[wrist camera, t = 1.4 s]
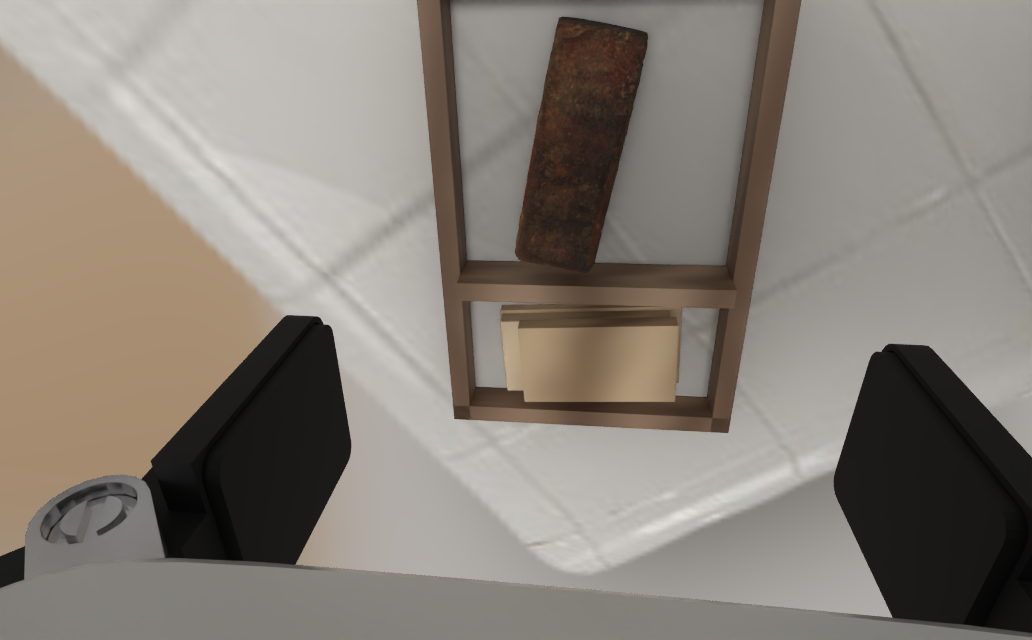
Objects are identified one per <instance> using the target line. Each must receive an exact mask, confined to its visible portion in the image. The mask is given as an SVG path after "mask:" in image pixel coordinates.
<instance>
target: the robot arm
mask: <svg viewBox="0 0 1032 640" xmlns="http://www.w3.org/2000/svg"><path fill="white" fill-rule="evenodd" d="M350 454H351V438H350V432H349V426H348V420H347V414H346V408H345V402H344V396H343V390H342V384H341V378H340V372H339V366H338V360H337V354H336V348H335V342H334V336H333V331H332V329H331V327H330V326H329V325H324V324H323V322H322V320H321V319H320V318H319V317H315V316H294V315H287V316H285V317H284V318H283V319H282V320H281V321H280V322H279V323H278V324H277V325H276V326H275V327H274V328H273V330H272V331H271V332H270V333H269V334H268V335H267V336H266V337H265V338H264V339H263V340H262V341H261V343H260V344H259V345H258V346H257V347H256V348H255V349H254V350H253V351H252V352H251V353H250V354H249V355H248V357H247V358H246V359H245V360H244V361H243V362H242V363H241V364H240V365H239V366H238V367H237V368H236V369H235V371H234V372H233V373H232V374H231V375H230V376H229V377H228V378H227V379H226V380H225V381H224V382H223V383H222V385H221V386H220V387H219V388H218V389H217V390H216V391H215V392H214V393H213V394H212V396H210V397H209V399H208V400H207V401H206V402H205V403H204V404H203V405H202V406H201V407H200V408H199V409H198V410H197V412H196V413H195V414H194V415H193V416H192V417H191V418H190V419H189V420H188V421H187V422H186V423H185V424H184V426H183V427H182V428H181V429H180V430H179V431H178V432H177V433H176V434H175V435H174V436H173V437H172V439H171V440H170V441H169V442H168V443H167V444H166V445H165V446H164V447H163V448H162V449H161V450H160V451H159V453H158V454H157V455H156V456H155V457H154V458H153V459H152V460H151V463H152V466H153V467H152V468H151V469H150V470H149V471H148V473H147V474H146V475H145V476H144V477H143V478H142V479H139V478H137V477H134V476H128V475H111V476H103V477H100V478H96V479H92V480H88V481H85V482H83V483H81V484H78V485H76V486H73V487H71V488H69V489H67V490H65V491H64V492H62V493H61V494H59V495H57V496H56V497H54V498H52V499H51V500H50V501H49V502H48V503H46V504H45V505H44V506H43V507H42V508H41V509H40V510H38V512H37V513H36V514H35V516H34V517H33V518H32V520H31V521H30V522H29V525H28V528H27V531H26V535H25V546H24V547H22V548H20V549H17V550H15V551H12V552H10V553H7V554H5V555H2V556H0V640H1032V457H1031V456H1030V455H1029V454H1028V453H1027V452H1026V451H1025V450H1024V449H1023V447H1022V446H1021V445H1020V444H1019V443H1018V442H1017V441H1016V440H1015V439H1014V438H1013V437H1012V436H1011V434H1010V433H1009V432H1008V431H1007V430H1006V429H1005V428H1004V427H1003V426H1002V424H1001V423H1000V422H999V421H998V420H997V419H996V418H995V417H994V416H993V415H992V414H991V413H990V411H989V410H988V409H987V408H986V407H985V406H984V405H983V404H982V403H981V402H980V401H979V399H978V398H977V397H976V396H975V395H974V394H973V393H972V392H971V391H970V390H969V389H968V387H967V386H966V385H965V384H964V383H963V382H962V381H961V380H960V379H959V378H958V377H957V375H956V374H955V373H954V372H953V371H952V370H951V369H950V368H949V367H948V366H947V365H946V364H945V362H944V361H943V360H942V359H941V358H940V357H939V356H938V355H937V354H936V353H935V352H934V350H933V349H931V348H930V347H929V346H924V345H903V344H888V345H886V346H885V347H884V349H883V350H882V352H875V353H874V354H873V355H872V356H871V358H870V361H869V364H868V367H867V370H866V374H865V377H864V380H863V383H862V387H861V390H860V393H859V396H858V400H857V403H856V406H855V409H854V413H853V416H852V419H851V422H850V426H849V429H848V432H847V435H846V439H845V442H844V445H843V449H842V452H841V455H840V458H839V462H838V465H837V468H836V471H835V475H834V490H835V495H836V497H837V500H838V502H839V504H840V506H841V508H842V510H843V512H844V515H845V517H846V519H847V521H848V523H849V525H850V527H851V529H852V532H853V534H854V536H855V538H856V540H857V542H858V544H859V547H860V549H861V551H862V553H863V555H864V557H865V559H866V561H867V564H868V566H869V568H870V570H871V572H872V574H873V576H874V579H875V581H876V583H877V585H878V587H879V589H880V591H881V593H882V596H883V598H884V600H885V602H886V604H887V606H888V608H889V611H890V613H891V615H892V617H893V618H888V617H879V616H869V615H857V614H847V613H837V612H826V611H815V610H805V609H794V608H784V607H773V606H763V605H752V604H741V603H731V602H720V601H710V600H699V599H688V598H676V597H665V596H655V595H643V594H632V593H621V592H610V591H599V590H588V589H576V588H564V587H554V586H542V585H531V584H519V583H508V582H496V581H484V580H473V579H461V578H449V577H437V576H425V575H413V574H401V573H389V572H376V571H365V570H352V569H341V568H329V567H316V566H303V565H295V564H296V562H297V560H298V558H299V556H300V555H301V553H302V551H303V548H304V547H305V545H306V543H307V541H308V539H309V537H310V535H311V533H312V531H313V529H314V527H315V525H316V523H317V521H318V519H319V518H320V516H321V514H322V512H323V510H324V508H325V506H326V504H327V502H328V500H329V498H330V496H331V494H332V492H333V490H334V488H335V486H336V484H337V483H338V481H339V479H340V477H341V475H342V473H343V471H344V469H345V467H346V465H347V463H348V461H349V458H350Z"/></svg>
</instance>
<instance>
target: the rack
mask: <svg viewBox="0 0 1032 640" xmlns="http://www.w3.org/2000/svg"><path fill="white" fill-rule="evenodd" d="M417 6H418V17H419V28H420V39H421V50H422V61H423V73H424V84H425V95H426V106H427V117H428V129H429V140H430V151H431V162H432V173H433V184H434V196H435V207H436V218H437V229H438V240H439V252H440V263H441V274H442V285H443V296H444V307H445V319H446V330H447V341H448V352H449V363H450V375H451V386H452V397H453V408H454V419H466V420H485V421H505V422H524V423H544V424H563V425H583V426H603V427H622V428H642V429H661V430H681V431H700V432H720V433H728V431H729V425H730V419H731V414H732V408H733V402H734V396H735V390H736V384H737V378H738V372H739V366H740V360H741V354H742V349H743V343H744V337H745V331H746V325H747V319H748V313H749V307H750V301H751V295H752V289H753V284H754V278H755V272H756V266H757V260H758V254H759V248H760V242H761V236H762V230H763V225H764V219H765V213H766V207H767V201H768V195H769V189H770V183H771V177H772V171H773V165H774V160H775V154H776V148H777V142H778V136H779V130H780V124H781V118H782V112H783V106H784V101H785V95H786V89H787V83H788V77H789V71H790V65H791V59H792V53H793V47H794V41H795V36H796V30H797V24H798V18H799V12H800V6H801V0H764V7H763V14H762V21H761V28H760V35H759V42H758V49H757V56H756V63H755V69H754V76H753V83H752V90H751V97H750V104H749V111H748V118H747V125H746V132H745V139H744V146H743V153H742V159H741V166H740V173H739V180H738V187H737V194H736V201H735V208H734V215H733V222H732V229H731V236H730V243H729V249H728V256H727V263H726V266H695V265H650V264H604V263H594V264H593V266H592V268H591V269H590V271H589V272H587V273H583V272H578V271H573V270H568V269H563V268H557V267H551V266H546V265H540V264H535V263H529V262H512V261H467V253H466V238H465V223H464V208H463V194H462V179H461V164H460V149H459V134H458V120H457V105H456V90H455V75H454V60H453V46H452V31H451V16H450V1H449V0H417ZM470 301H489V302H523V303H558V304H592V305H626V306H660V307H694V308H720V312H719V319H718V326H717V333H716V339H715V346H714V353H713V360H712V367H711V374H710V381H709V388H708V395H707V398H706V397H684V396H675V402H525V401H524V390H513V391H508V389H506V388H484V387H476V386H475V371H474V356H473V341H472V327H471V312H470Z"/></svg>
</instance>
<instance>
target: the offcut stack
mask: <svg viewBox="0 0 1032 640" xmlns="http://www.w3.org/2000/svg"><path fill="white" fill-rule="evenodd" d="M681 313H682V307H660V306H626V305H592V304H538V305H502V307H501V321H500V324H501V333H502V343H503V352H504V361H505V371H506V380H507V389H508V391H513V390H524V401H525V402H675V391H676V383H678V379H679V357H680V335H681Z"/></svg>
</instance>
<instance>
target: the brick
mask: <svg viewBox="0 0 1032 640" xmlns="http://www.w3.org/2000/svg"><path fill="white" fill-rule="evenodd" d="M647 40H648V35H647V33H646V32H643V31H639V30H635V29H631V28H626V27H621V26H617V25H612V24H607V23H602V22H596V21H589V20H585V19H579V18H571V17H561V18H559V21H558V25H557V28H556V33H555V39H554V43H553V48H552V52H551V56H550V61H549V66H548V70H547V74H546V79H545V85H544V91H543V98H542V103H541V107H540V111H539V115H538V120H537V126H536V133H535V139H534V144H533V150H532V155H531V161H530V167H529V171H528V177H527V185H526V190H525V196H524V201H523V208H522V213H521V216H520V223H519V229H518V234H517V239H516V249H515V254H516V256H517V257H518V259H519V260H521V261H523V262H529V263H535V264H540V265H546V266H551V267H557V268H563V269H568V270H573V271H578V272H583V273H587V272H589V271H590V269H591V268H592V266H593V264H594V262H595V258H596V254H597V250H598V246H599V241H600V237H601V231H602V228H603V225H604V220H605V216H606V212H607V209H608V205H609V201H610V196H611V192H612V189H613V185H614V181H615V178H616V174H617V171H618V166H619V161H620V157H621V153H622V150H623V145H624V141H625V137H626V134H627V130H628V125H629V121H630V117H631V113H632V110H633V103H634V100H635V96H636V92H637V88H638V85H639V81H640V76H641V71H642V67H643V63H642V62H643V60H644V58H645V54H646V49H647Z"/></svg>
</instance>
